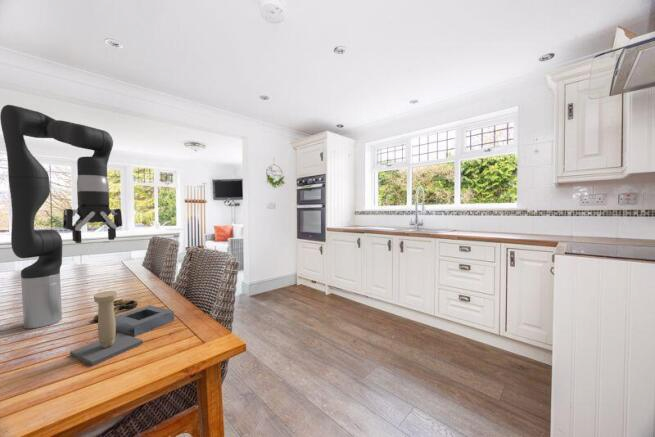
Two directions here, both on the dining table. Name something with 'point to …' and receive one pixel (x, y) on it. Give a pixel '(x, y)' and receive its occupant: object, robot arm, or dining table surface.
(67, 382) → the dining table surface
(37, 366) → the dining table surface
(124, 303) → the toy snake
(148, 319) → the holder
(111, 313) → the handle
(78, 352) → the mat
